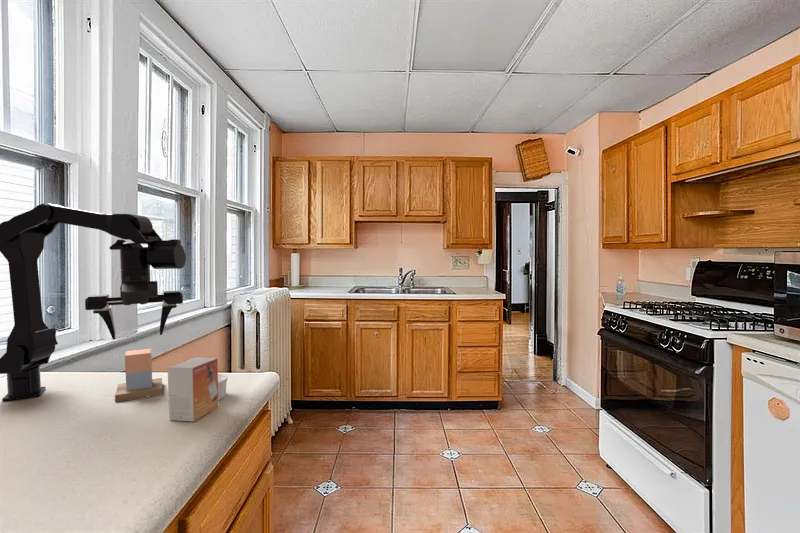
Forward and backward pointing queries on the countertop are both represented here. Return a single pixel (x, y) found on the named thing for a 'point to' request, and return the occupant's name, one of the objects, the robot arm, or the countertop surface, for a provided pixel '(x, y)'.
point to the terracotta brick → (138, 360)
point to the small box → (192, 388)
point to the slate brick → (138, 380)
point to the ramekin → (222, 385)
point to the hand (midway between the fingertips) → (138, 336)
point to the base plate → (138, 391)
